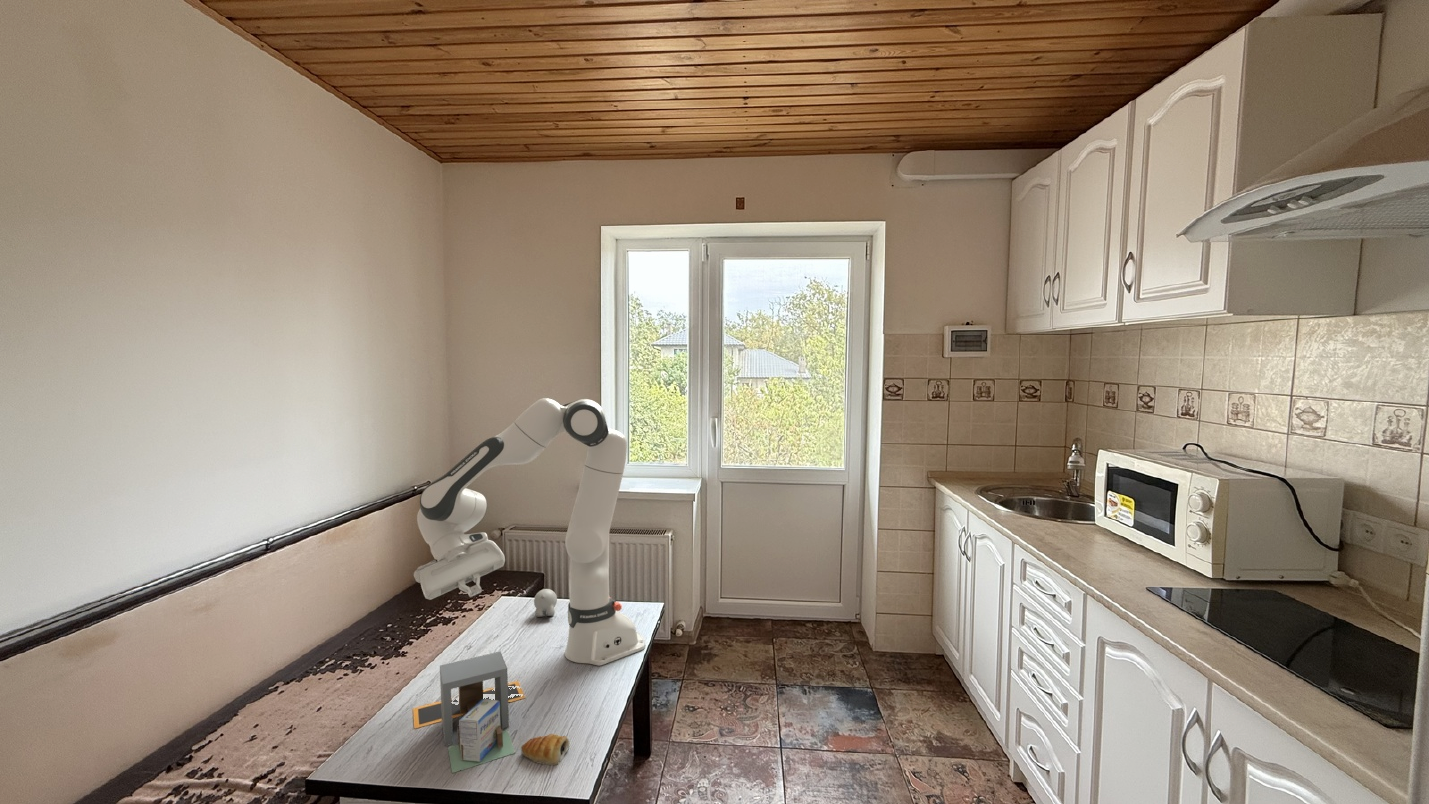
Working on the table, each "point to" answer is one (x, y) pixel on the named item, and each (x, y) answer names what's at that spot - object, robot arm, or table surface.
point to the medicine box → (479, 729)
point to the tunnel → (470, 674)
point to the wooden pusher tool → (468, 700)
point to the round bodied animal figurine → (545, 603)
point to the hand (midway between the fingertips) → (476, 593)
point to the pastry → (546, 749)
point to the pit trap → (454, 707)
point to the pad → (491, 755)
